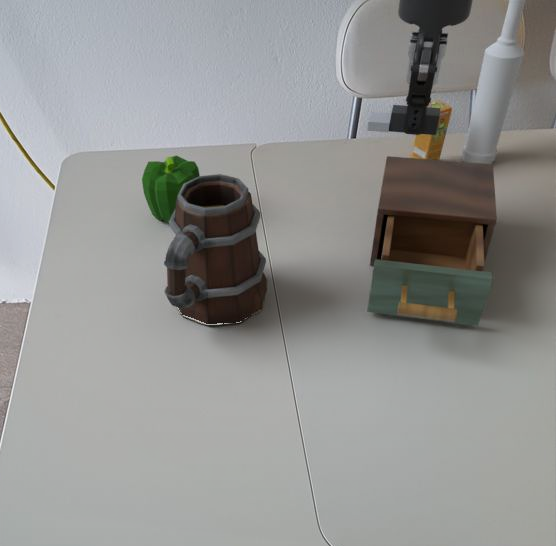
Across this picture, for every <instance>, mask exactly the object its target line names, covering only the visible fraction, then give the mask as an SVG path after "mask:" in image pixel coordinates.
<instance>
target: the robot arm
mask: <svg viewBox="0 0 556 546" xmlns="http://www.w3.org/2000/svg"><path fill="white" fill-rule="evenodd" d="M473 2H474V0H399V3H398V10H397V13H398V18H399V19H400V20H401V21H403V22H404V23H406V24H408V25H415V26H417V27H418V31H415V30H414V31H412V32H411V35H410V36H411V37H410V39H409V46H408V51H407V52H408V53H407V55H408V57H409V61H408V67H407V73H406V80H405V81H406V83H407V84H408V93H407V95H406V98H405V102H406V106H408V107H407V113H406V119H405V125H404V133H403V134H405V135H412V136H413V135H414V136H415V135H420V134H421V133H422V132H423V126H424V121H425V116H426V110H427V106H429V103H431V102H432V97H431V95H432V91H433V87H434V86H435V85H437V84H438V80H439V76H440V70H441V64H442V60H443V59H444V58H445V56H446V51H447V46H448V38H449V37H448V36H449V32H443V30H444V28H446V27H448V26H451V27H453V26H457V25H461V24H462V23H464V22H465V21H467V20H468V19H469V17H470V15H471V11H472V6H473Z"/></svg>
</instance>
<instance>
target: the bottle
mask: <svg viewBox="0 0 556 546" xmlns="http://www.w3.org/2000/svg"><path fill="white" fill-rule="evenodd" d="M526 1H527V0H508V5H507V10H506V14H505V16H504V17H505V18H504V22H503V25H502V30H501V33H500V36H499V37H497V40H496V41H495V42H494V43H492V44H491V45H489V46H488V47H486V49H485V50H484V53H483V58H482V63H481V68H480V73H479V78H478V83H477V88H476V91H475V92H476V93H475V97H474V102H473V106H472V111H471V112H472V113H471V116H470V121H469V124H468V125H469V126H468V130H467V135H466V141H465V143H464V145H462V149H461V160H462V162H470V163H483V164H493V162H494V161H495V159H496V157H497V154H498V144H499V141H500V137H501V133H502V130H503V127H504V123H505V120H506V117H507V113H508V109H509V107H510V103H511V99H512V96H513V93H514V90H515V85H516V83H517V79H518V76H519V72H520V69H521V65H522V62H523V59H524V55H525V52H524V49H523V48H522V47H521V46H520V45H519V43H518V42H519V41H518V40H519V39H518V38H517V34H518V32H519V27H520V23H521V18H522V15H523V11H524V7H525V3H526Z"/></svg>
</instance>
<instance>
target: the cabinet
mask: <svg viewBox="0 0 556 546" xmlns="http://www.w3.org/2000/svg"><path fill="white" fill-rule="evenodd" d="M494 173H495V171H494V164H493V163H491V164H483V163H470V162H464V161H456V160H443V159H442V160H441V159H440V160H430V159H417V158H411V157H402V156H389V155H386V159H385V165H384V171H383V176H382V183H381V189H380V194H379V201H378V206H377V213H376V220H375V226H374V233H373V240H372V247H371V255H370V261H369V266H370V267H371V266H372V267H374V263H375V259H377V260H381V256H382V250H383V243H384V237H385V231H386V224H387V218H388V215H395V216H405V217H416V218H426V219H436V220H447V221H457V222H468V223H478V224H483V242H484V263H485V262H486V258H487V255H488V251H489V249H490V246H491V245H490V244H491V242H492V238H493V235H494V232H495V227H496V224H497V221H498V217H497V203H496V202H497V201H496V188H495V187H496V185H495V174H494Z"/></svg>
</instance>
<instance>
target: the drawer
mask: <svg viewBox="0 0 556 546" xmlns="http://www.w3.org/2000/svg"><path fill="white" fill-rule="evenodd" d="M484 269H485V262H484V242H483V224H478V223H468V222H457V221H447V220H436V219H426V218H416V217H405V216H395V215H388V218H387V224H386V231H385V237H384V243H383V250H382V256H381V260H377V259H375V263H374V266H373V270H372V275H371V276H372V277H371V283H370V289H369V297H368V303H367V308H366V309H367V310H366V311H367V313H376V314H383V315H389V316H398V317H405V318H413V319H422V320H428V321H436V322H443V323H450V324H458V325H466V326H472V327H473V326H474V327H478V326H479V324H480V320H481V317H482V314H483V311H484V308H485V304H486V301H487V298H488V294H489V291H490V288H491V285H492V282H493V272H491V271H484Z"/></svg>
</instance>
